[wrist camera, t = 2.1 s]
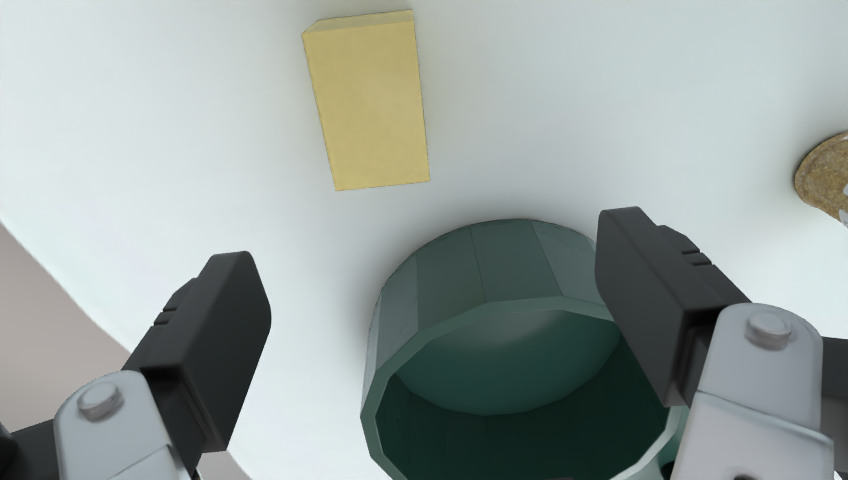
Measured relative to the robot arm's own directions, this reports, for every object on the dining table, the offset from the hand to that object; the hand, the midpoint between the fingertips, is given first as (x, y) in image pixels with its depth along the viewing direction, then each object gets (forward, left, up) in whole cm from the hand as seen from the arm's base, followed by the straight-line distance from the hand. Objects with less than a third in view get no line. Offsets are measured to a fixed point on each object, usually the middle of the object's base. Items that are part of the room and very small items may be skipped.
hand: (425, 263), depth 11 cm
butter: (0, -2, -15) cm, 16 cm away
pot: (+17, +4, -15) cm, 23 cm away
